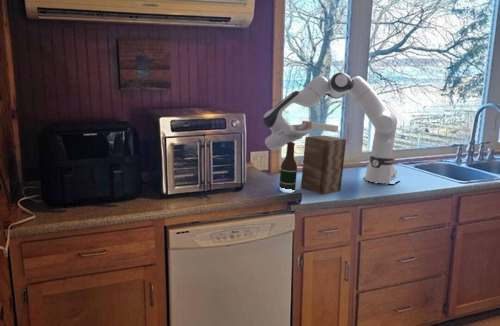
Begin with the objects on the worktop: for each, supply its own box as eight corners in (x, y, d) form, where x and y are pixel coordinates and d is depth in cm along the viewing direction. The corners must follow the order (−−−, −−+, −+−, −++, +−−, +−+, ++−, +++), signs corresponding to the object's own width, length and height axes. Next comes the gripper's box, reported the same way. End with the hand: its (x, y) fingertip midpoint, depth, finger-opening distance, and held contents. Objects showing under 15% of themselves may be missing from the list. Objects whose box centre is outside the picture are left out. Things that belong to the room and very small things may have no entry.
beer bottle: (293, 194, 215) (298, 144, 211) (277, 192, 217) (281, 142, 212) (295, 190, 223) (300, 142, 218) (279, 188, 224) (284, 140, 220)
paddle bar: (304, 126, 234) (305, 120, 233) (337, 132, 221) (338, 125, 220) (301, 126, 232) (302, 121, 232) (334, 132, 219) (335, 126, 218)
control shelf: (319, 184, 239) (324, 135, 234) (340, 190, 230) (346, 139, 225) (300, 188, 228) (305, 137, 223) (322, 194, 219) (327, 141, 214)
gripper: (274, 129, 233) (294, 118, 224) (299, 127, 248) (318, 117, 238) (278, 140, 232) (298, 130, 223) (302, 138, 247) (322, 128, 237)
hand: (308, 123), depth 231 cm, fingers closed on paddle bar, 2 cm apart
